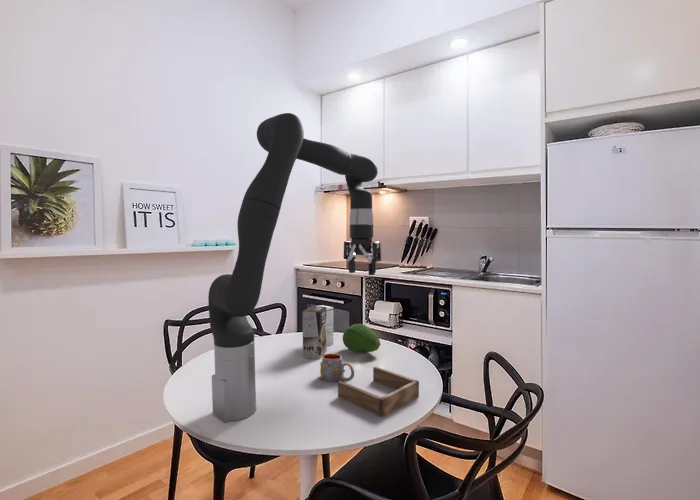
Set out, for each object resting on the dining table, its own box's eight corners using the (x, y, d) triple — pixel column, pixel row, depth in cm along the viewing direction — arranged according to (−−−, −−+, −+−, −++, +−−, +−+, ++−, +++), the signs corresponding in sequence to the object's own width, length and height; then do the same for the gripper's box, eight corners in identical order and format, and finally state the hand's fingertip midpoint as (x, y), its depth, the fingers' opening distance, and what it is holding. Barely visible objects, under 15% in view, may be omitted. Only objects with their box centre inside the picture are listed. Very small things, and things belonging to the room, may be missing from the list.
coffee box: (320, 359, 127) (319, 311, 126) (302, 358, 129) (301, 311, 128) (327, 350, 136) (327, 306, 135) (310, 349, 138) (309, 305, 137)
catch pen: (382, 416, 89) (382, 400, 88) (338, 396, 99) (337, 381, 99) (418, 396, 99) (418, 381, 99) (375, 380, 110) (375, 366, 109)
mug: (315, 378, 112) (315, 356, 111) (332, 371, 117) (332, 350, 116) (344, 390, 103) (343, 366, 103) (361, 382, 108) (360, 359, 108)
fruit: (387, 355, 131) (386, 326, 130) (366, 362, 124) (365, 332, 124) (357, 345, 142) (357, 318, 142) (337, 350, 136) (336, 323, 135)
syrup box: (312, 345, 143) (311, 307, 142) (323, 341, 147) (322, 304, 146) (323, 348, 139) (322, 309, 138) (334, 344, 144) (333, 306, 143)
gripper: (337, 223, 123) (338, 273, 124) (370, 223, 113) (370, 277, 114) (353, 223, 128) (354, 271, 129) (386, 223, 118) (386, 274, 119)
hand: (361, 273), depth 122 cm, fingers open, 8 cm apart
